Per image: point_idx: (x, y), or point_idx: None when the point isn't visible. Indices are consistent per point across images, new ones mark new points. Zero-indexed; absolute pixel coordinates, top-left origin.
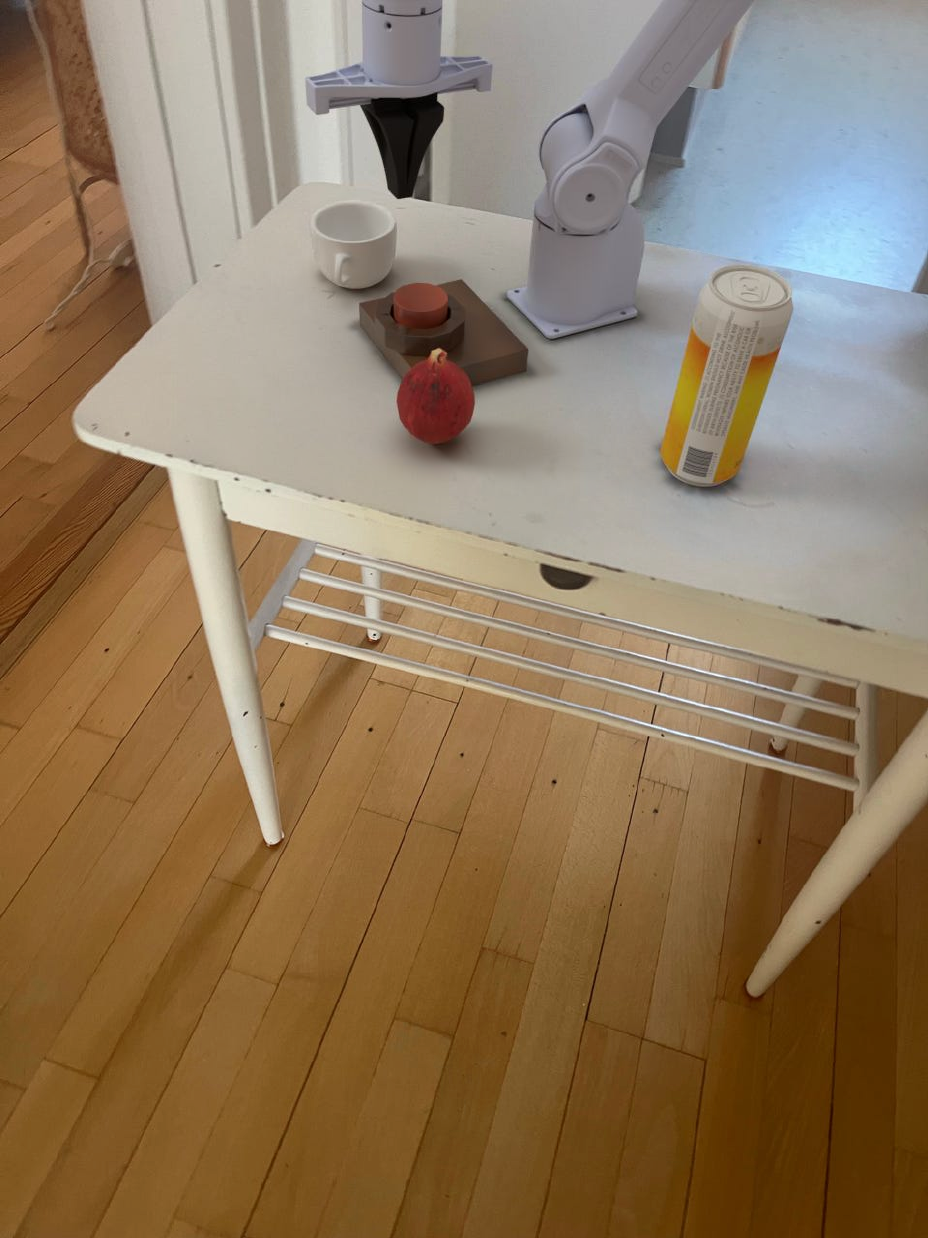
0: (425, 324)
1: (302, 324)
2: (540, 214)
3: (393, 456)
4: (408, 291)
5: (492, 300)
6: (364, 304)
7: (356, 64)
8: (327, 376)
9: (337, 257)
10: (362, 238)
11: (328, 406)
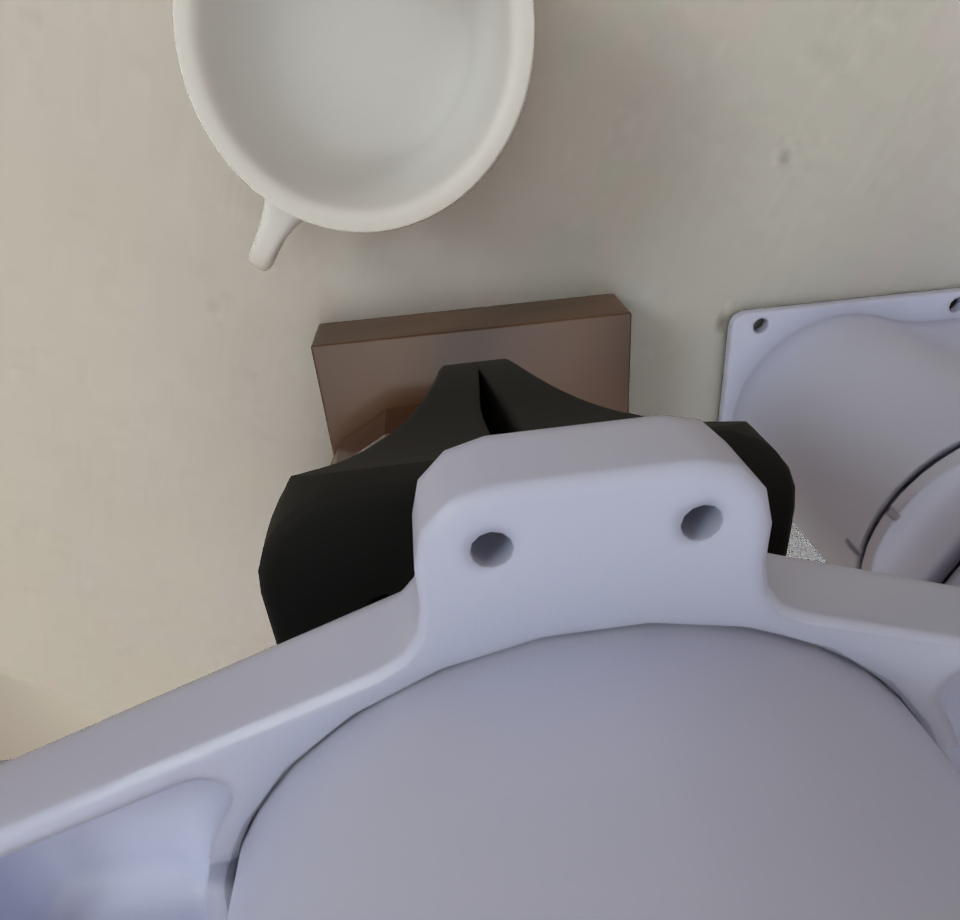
0: None
1: (163, 270)
2: (876, 560)
3: None
4: None
5: (690, 313)
6: (325, 357)
7: (183, 782)
8: (204, 487)
9: (260, 232)
10: None
11: (193, 571)
